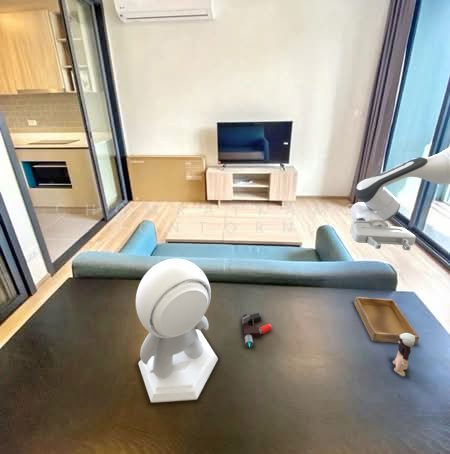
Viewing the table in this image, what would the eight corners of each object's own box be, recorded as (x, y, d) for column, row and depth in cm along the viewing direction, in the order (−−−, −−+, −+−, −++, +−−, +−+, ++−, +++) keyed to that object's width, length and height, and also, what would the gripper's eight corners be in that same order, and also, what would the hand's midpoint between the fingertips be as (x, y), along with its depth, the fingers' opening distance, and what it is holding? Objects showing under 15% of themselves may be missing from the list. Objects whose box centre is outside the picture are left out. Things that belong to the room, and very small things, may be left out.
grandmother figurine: (411, 382, 68) (424, 349, 63) (395, 378, 69) (407, 346, 64) (400, 355, 75) (412, 324, 70) (386, 352, 76) (396, 321, 71)
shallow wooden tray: (390, 306, 92) (393, 299, 91) (416, 345, 78) (419, 337, 77) (353, 303, 93) (355, 296, 92) (372, 341, 79) (374, 333, 78)
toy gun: (244, 350, 76) (244, 339, 74) (240, 317, 87) (240, 307, 86) (275, 349, 76) (276, 338, 75) (268, 316, 88) (268, 306, 86)
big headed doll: (158, 427, 59) (141, 315, 46) (133, 348, 76) (115, 253, 64) (228, 377, 69) (230, 274, 56) (191, 318, 87) (186, 231, 74)
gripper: (400, 235, 97) (423, 257, 84) (346, 233, 99) (360, 253, 86) (404, 221, 95) (428, 241, 82) (348, 218, 97) (364, 238, 84)
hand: (393, 247), depth 84 cm, fingers open, 8 cm apart
